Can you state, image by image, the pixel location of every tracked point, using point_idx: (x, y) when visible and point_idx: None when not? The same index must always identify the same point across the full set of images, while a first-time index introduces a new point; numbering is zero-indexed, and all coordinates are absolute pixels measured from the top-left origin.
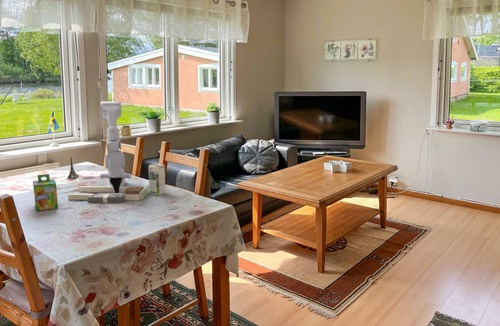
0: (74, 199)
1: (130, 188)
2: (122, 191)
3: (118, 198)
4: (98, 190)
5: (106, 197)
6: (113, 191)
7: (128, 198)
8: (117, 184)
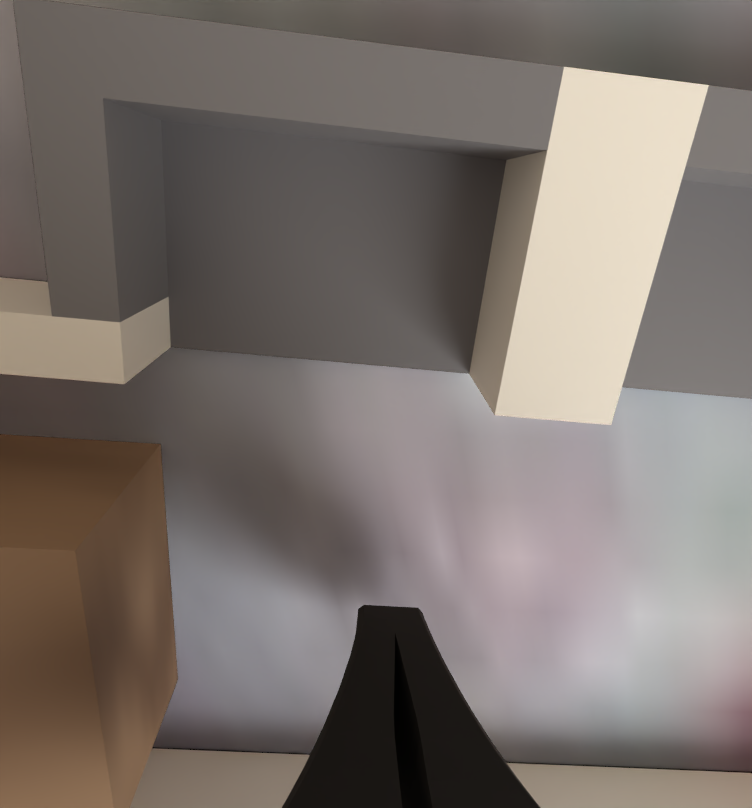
0: None
1: (8, 705)
2: None
3: (167, 28)
4: (746, 797)
5: (579, 70)
6: None
7: (6, 288)
8: (332, 805)
